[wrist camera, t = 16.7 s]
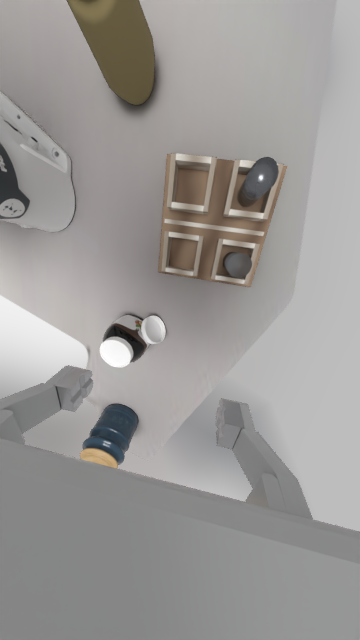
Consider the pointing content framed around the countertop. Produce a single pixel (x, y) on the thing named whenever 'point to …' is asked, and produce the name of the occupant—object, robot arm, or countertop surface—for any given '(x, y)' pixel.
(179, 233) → the wooden compartment tray
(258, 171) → the pin
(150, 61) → the squeeze bottle
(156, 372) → the countertop surface
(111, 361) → the spread jar
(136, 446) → the countertop surface
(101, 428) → the canister
